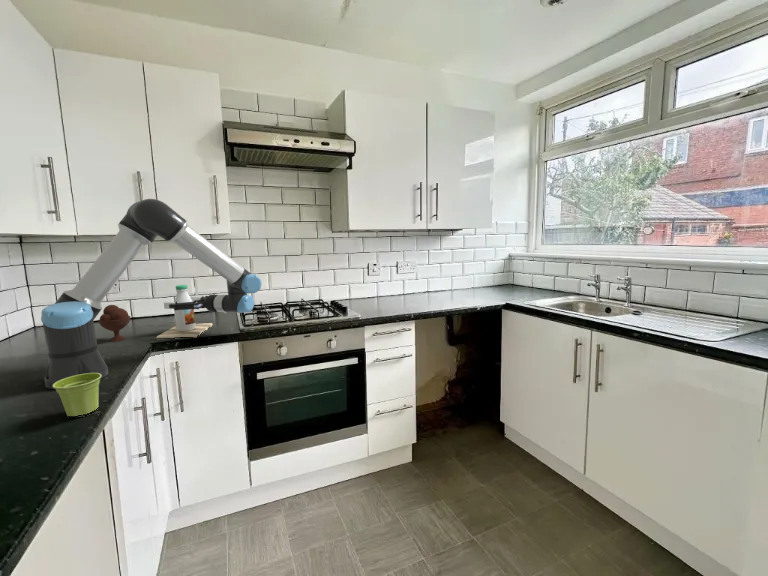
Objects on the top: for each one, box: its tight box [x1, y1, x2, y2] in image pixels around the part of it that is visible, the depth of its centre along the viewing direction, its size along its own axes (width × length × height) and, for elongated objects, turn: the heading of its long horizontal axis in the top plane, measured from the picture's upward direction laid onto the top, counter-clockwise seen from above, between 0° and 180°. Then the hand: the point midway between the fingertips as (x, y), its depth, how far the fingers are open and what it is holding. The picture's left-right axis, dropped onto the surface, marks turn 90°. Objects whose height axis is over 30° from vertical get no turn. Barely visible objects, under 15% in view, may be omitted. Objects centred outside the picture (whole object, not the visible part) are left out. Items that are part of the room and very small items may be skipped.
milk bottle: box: [173, 284, 196, 331], centre depth 166 cm, size 8×8×20 cm
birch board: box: [156, 322, 213, 339], centre depth 168 cm, size 20×16×1 cm
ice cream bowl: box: [97, 304, 131, 343], centre depth 157 cm, size 11×11×15 cm
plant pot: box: [53, 373, 102, 417], centre depth 93 cm, size 9×9×9 cm
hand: (176, 302), depth 167 cm, fingers open, 13 cm apart
